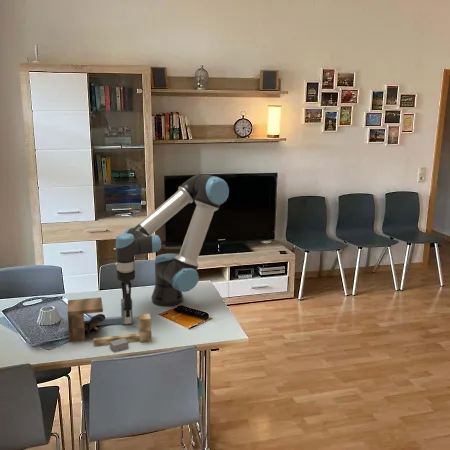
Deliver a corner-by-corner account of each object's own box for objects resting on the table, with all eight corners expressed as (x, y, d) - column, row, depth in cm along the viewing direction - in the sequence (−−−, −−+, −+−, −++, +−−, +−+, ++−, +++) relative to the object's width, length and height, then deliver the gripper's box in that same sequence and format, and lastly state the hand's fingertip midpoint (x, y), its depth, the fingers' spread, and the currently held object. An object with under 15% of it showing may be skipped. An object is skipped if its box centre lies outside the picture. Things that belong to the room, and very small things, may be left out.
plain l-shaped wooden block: (149, 336, 205) (149, 313, 202) (151, 341, 200) (151, 318, 198) (93, 342, 198) (92, 319, 196) (94, 347, 194) (92, 324, 192)
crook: (131, 319, 219) (131, 298, 217) (134, 331, 208) (133, 309, 205) (78, 323, 213) (77, 301, 211) (78, 336, 202) (77, 313, 200)
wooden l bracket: (102, 325, 213) (101, 297, 210) (104, 338, 202) (102, 308, 199) (69, 328, 209) (67, 300, 206) (69, 342, 198) (67, 311, 195)
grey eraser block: (124, 344, 198) (123, 337, 197) (128, 348, 194) (128, 341, 194) (109, 348, 194) (109, 341, 193) (114, 352, 191) (114, 345, 190)
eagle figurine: (99, 333, 204) (109, 320, 212) (89, 319, 202) (99, 307, 210) (87, 339, 207) (97, 326, 215) (76, 326, 206) (87, 314, 213)
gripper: (115, 264, 218) (116, 313, 224) (118, 277, 201) (120, 330, 207) (132, 262, 220) (133, 311, 226) (137, 276, 203) (138, 328, 209)
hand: (127, 320), depth 216 cm, fingers closed on crook, 5 cm apart
